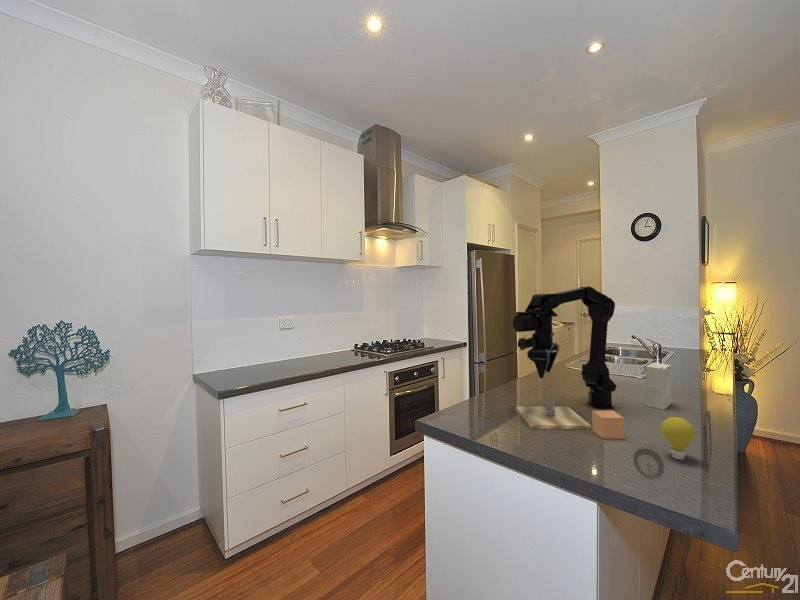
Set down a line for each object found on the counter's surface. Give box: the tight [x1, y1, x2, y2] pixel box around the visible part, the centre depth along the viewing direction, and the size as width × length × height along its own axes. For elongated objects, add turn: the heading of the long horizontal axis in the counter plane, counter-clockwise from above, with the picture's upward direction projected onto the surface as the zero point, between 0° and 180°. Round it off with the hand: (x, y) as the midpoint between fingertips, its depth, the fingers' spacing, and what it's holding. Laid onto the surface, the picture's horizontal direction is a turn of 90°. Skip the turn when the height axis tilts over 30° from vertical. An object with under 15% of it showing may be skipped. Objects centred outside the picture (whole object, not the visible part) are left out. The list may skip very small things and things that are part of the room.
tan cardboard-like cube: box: [591, 410, 625, 440], centre depth 102 cm, size 6×6×6 cm
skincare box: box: [645, 362, 672, 411], centre depth 125 cm, size 8×6×15 cm
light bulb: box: [660, 416, 696, 460], centre depth 87 cm, size 7×7×10 cm
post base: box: [515, 400, 592, 430], centre depth 116 cm, size 18×18×6 cm
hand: (544, 374), depth 120 cm, fingers open, 9 cm apart
